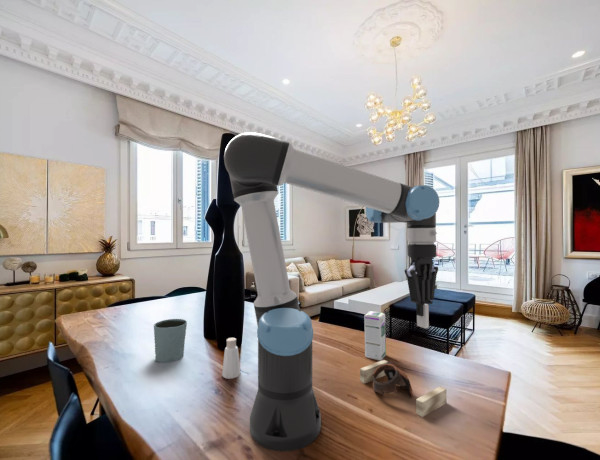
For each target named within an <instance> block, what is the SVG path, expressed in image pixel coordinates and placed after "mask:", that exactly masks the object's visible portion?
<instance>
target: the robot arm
mask: <svg viewBox="0 0 600 460" xmlns="http://www.w3.org/2000/svg"><path fill="white" fill-rule="evenodd" d="M223 160H224V161H223V162H224V166H225V169H226V171H227V172H228V175H229V181H230V185H231V191H232V195H233V201H234V202H236V203H237V204H239V206H240V207H241V212H242V216H243V221H244V227H245V232H246V239H247V243H248V249H249V254H250V260H251V265H252V271H253V275H254V280H255V281H254V282H255V286H256V292H257V293H256V294H257V296H256V298H255V300H254V301H253V308H254V313H255V319H256V325H257V329H256V330H257V331H256V333H257V335H256V336H257V380H258V381H257V384H258V385H257V393H256V394H255V398H254V401H253V406H252V409H251V412H250V415H249V434H250V436H251V438H252V440H254V442H255V443H257V445H259V446H261V447H262V448H263V449H264V448H265V449H268V450H270V451H275V452H292V451H297V450H300V449H304V448H305V447H308V446H309V445H311V444H312V443H313V442H314V441H316V440H317V438H318V436H319V435H320V432H321V428H322V420H321V419H322V418H321V417H322V415H321V411H320V408H319V405H318V401H317V399H316V394H315V391H314V388H313V338H314V328H313V323H312V319H311V317H310V315H309V314H307V313H306V312H305V311H303V310H300V309H301V308H300V303H299V298H298V294H297V293H296V292H295V291H294V290H292V289H291V286H290V282H289V276H288V270H287V265H286V260H285V253H284V249H283V244H282V238H281V234H280V227H279V223H278V222H279V221H278V216H277V210H276V207H275V200H276V198H277V196H278V195H279V190H278V186H279V187H280V186H282V185H283V184H287V185H291V186H294V187H298V188H301V189H304V190H307V191H311V192H314V193H317V194H318V193H319V194H320V195H321V194H322V195H325V196H326V197H331V198H335V199H338V200H341V201H344V202H348V203H351V204H353V205H354V204H355V205H358V206H362V207H365V215H366V218H367V220H368V221H369V222H370V223H376V224H377V223H379V224H381V223H382V224H384V223H385V224H386V223H387V224H389V223H391V224H393V223H394V224H395V223H407V224H406V226H407V228H406V229H407V230H406V234H407V238H406V240H407V242H408V243H409V244H408V245H407V256H408V258H411V259H410V263H409V264H410V267H409V268H405V269H404V274H405V276H406V279H407V285H408V290H409V291H408V292H409V297H410V302H411V303H413V304H415V305H416V306H415V307H416V308H415V309H416V310H415V311H416V326H417V327H420V328H423V329H428V328H429V327H430V321H429V317H430V316H429V315H430V309H429V308H430V305H432V304H433V301H434V299H435V292H436V291H435V290H436V283H437V275H438V272H439V267H438V266H435V265H434V262H433V259H434V258H436V257H437V245H436V244H434V243H436V242H437V212H438V210H439V206H440V197H439V194H438V192H437V191H436V190H435V189H434V188H433V187H432V186H429V185H414V186H410V185H407V184H404V183H401V182H397V181H394V180H391V179H388V178H385V177H382V176H378V175H376V174H373V173H368V172H365V171H363V170H359V169H356V168H353V167H350V166H348V165H344V164H341V163H338V162H336V161H331V160H330V159H329V160H328V159H326V158H323V157H320V156H316V155H313V154H310V153H307V152H303V151H301V150H298V149H295V148H294V146H293V144H292V143H291V142H290V141H289V142H288V141H286V140H283V139H279V138H277V137H274V136H270V135H266V134H264V133H263V134H262V133H258V132H243V133H240V134H238V135H236V136H234V137H233V138H232V139H231V140H230V141H229V142H228V144H227V145H226V147H225V150H224V155H223ZM429 304H430V305H429Z"/></svg>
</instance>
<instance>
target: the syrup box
mask: <svg viewBox="0 0 600 460" xmlns="http://www.w3.org/2000/svg"><path fill="white" fill-rule="evenodd" d="M363 318H364V319H363V320H364V321H363V323H364V356H365V358H368V359H372V360H375V361H382V360H384V358H385V357H386V355H387V342H386V341H387V340H386V339H387V335H386V333H387V332H386V313H385V312H380V311H375V310H374V311H372V310H370V311H368V312H367V313H366V314H364V317H363Z"/></svg>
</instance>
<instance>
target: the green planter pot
mask: <svg viewBox="0 0 600 460" xmlns="http://www.w3.org/2000/svg"><path fill="white" fill-rule="evenodd" d="M187 323H188V321H187V320H186V319H182V318H170V319H163V320H160V321H157V322H155V323H154V324H153V333H154V334H153V337H154V354H155V355H154V358H155V362H157V363H163V364H164V363H167V364H168V363H172V362H176V361H178V360H180V359H182V358H184V354H185V352H184V351H185V341H186V333H187Z"/></svg>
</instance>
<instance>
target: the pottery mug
mask: <svg viewBox="0 0 600 460" xmlns="http://www.w3.org/2000/svg"><path fill="white" fill-rule="evenodd" d="M383 370H384V373H385V376H386V377H387V380H388V381H386V382H379V381H377V379H376V377H377V376H378V374H379V373H380V372H382V371H383ZM373 376H374V378H373V379H372V381H371V382H372V389H373V392H374V393H378V394H381V395H384V394H385V395H388V394H391V393H394V394H396V395H398V391H397V386H399V388H401V389H404V390H407V391H409V393H410V398H412V399H413V398H414V391H413V387H412V385H411V381H410V380H409V378H408V375H406V373H405V372H404V370H401V369H400V368H398V367H397V366H396V365H395V364H394V363H393V362H391V361H388V363H386V364H383V365H381V366H379V367H378V368H377V369H376V370H375V371H374V372H373Z"/></svg>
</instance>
